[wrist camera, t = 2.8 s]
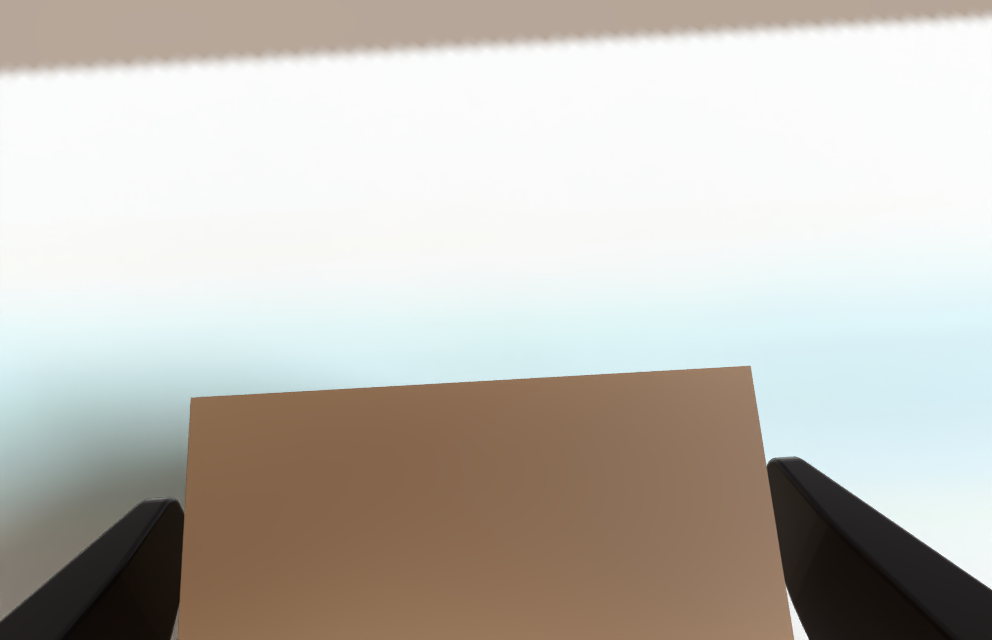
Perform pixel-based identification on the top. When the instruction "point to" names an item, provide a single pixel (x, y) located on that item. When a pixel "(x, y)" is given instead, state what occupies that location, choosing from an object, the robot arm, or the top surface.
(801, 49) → the top surface
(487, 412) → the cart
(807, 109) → the top surface
